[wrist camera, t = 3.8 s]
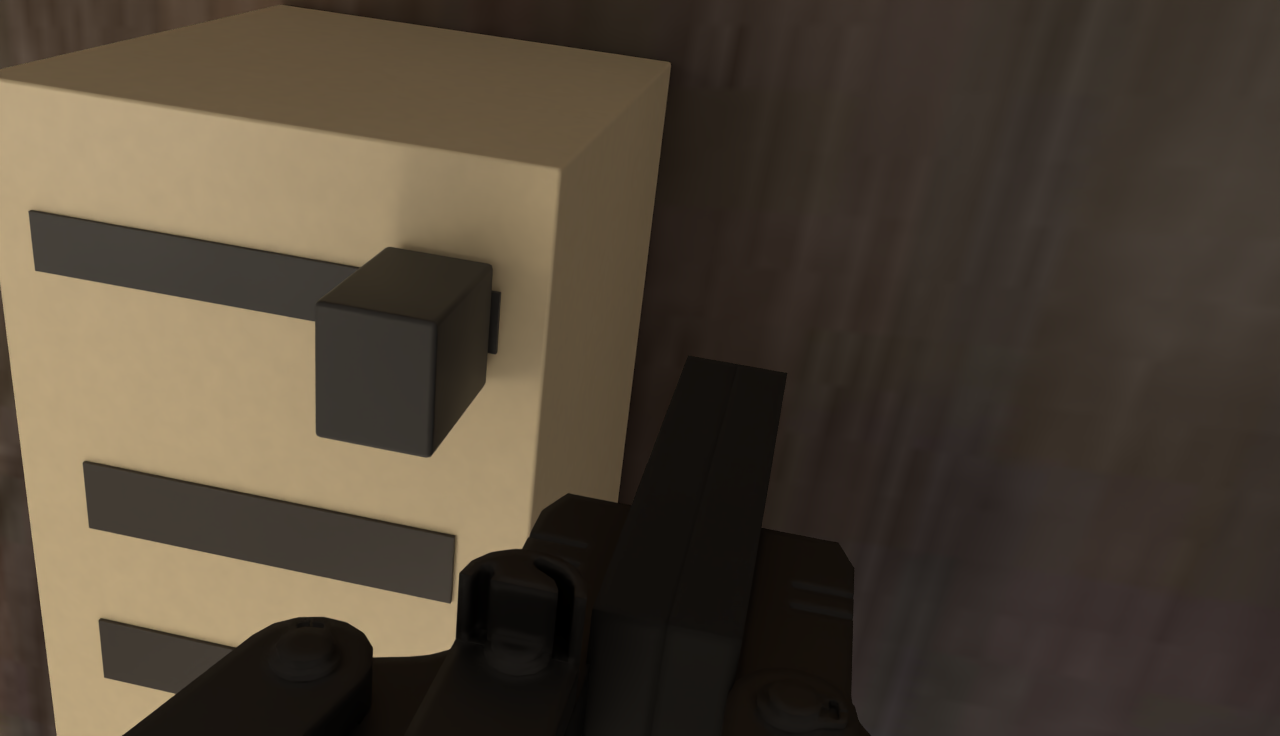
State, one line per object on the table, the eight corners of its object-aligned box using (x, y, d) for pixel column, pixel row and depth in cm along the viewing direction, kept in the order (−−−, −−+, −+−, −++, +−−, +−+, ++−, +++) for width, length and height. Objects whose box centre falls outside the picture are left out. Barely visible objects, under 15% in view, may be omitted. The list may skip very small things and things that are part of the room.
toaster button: (386, 243, 20) (312, 301, 18) (495, 262, 20) (436, 323, 18) (384, 366, 21) (313, 438, 19) (487, 385, 21) (430, 461, 18)
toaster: (279, 3, 32) (-33, 74, 21) (671, 61, 30) (559, 169, 19) (287, 502, 38) (54, 754, 27) (610, 567, 37) (501, 860, 26)
